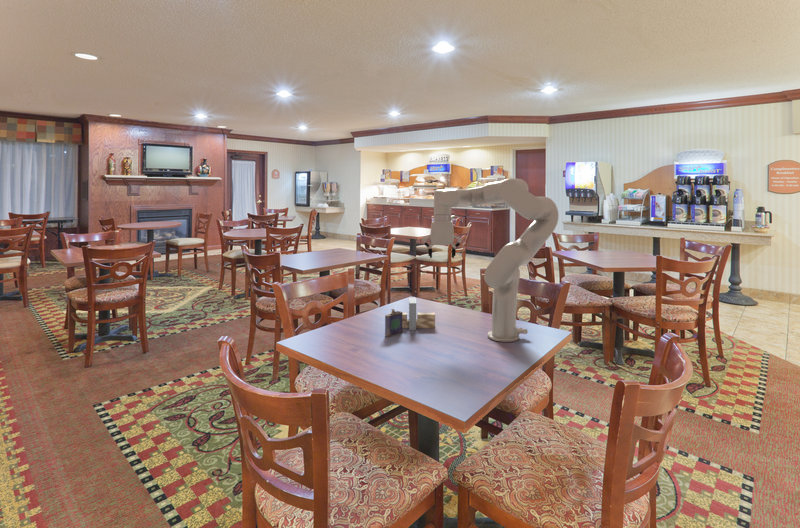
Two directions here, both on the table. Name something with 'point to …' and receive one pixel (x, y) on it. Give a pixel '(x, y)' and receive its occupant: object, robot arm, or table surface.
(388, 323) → the flask
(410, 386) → the table surface
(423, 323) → the rail
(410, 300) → the flat gray plate
